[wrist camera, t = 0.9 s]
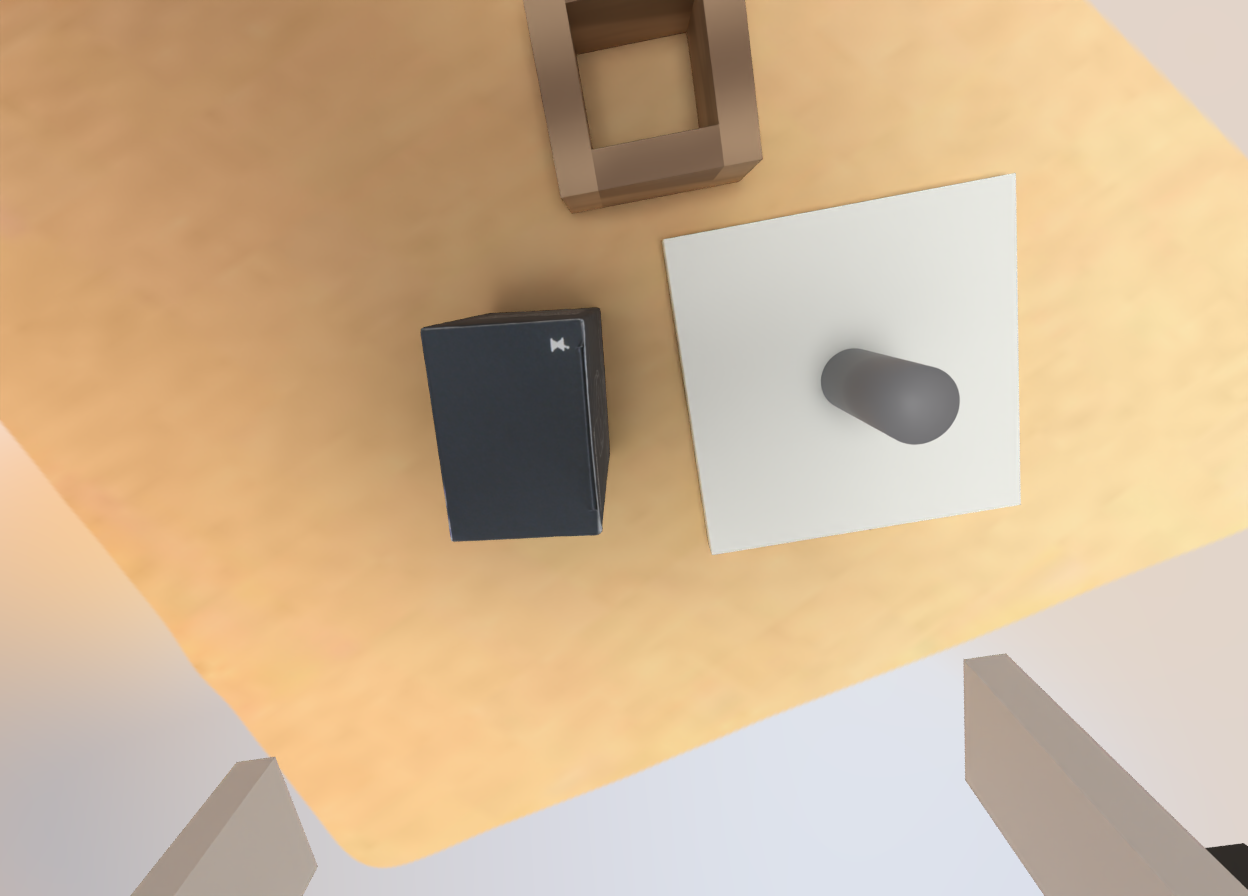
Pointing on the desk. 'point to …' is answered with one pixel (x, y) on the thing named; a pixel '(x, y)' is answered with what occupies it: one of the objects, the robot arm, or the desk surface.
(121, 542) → the desk surface
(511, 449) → the box
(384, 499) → the desk surface
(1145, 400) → the desk surface
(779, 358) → the thin white baseboard
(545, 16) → the collar
